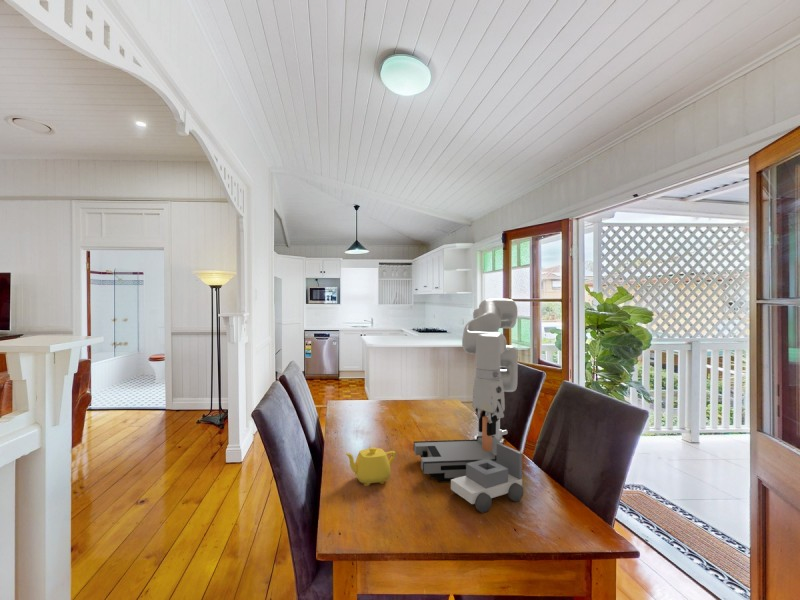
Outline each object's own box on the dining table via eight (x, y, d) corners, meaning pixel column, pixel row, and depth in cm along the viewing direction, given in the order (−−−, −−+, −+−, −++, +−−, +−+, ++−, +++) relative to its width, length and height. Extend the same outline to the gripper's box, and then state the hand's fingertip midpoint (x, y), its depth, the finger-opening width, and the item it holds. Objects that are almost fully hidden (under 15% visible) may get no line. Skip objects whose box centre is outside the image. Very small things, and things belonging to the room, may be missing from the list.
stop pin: (487, 446, 120) (487, 415, 120) (494, 450, 117) (494, 417, 117) (480, 448, 118) (480, 416, 118) (486, 451, 115) (487, 419, 115)
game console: (413, 459, 145) (413, 438, 146) (493, 456, 150) (493, 435, 150) (423, 485, 125) (424, 459, 125) (515, 480, 129) (516, 456, 129)
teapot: (347, 492, 119) (348, 457, 119) (340, 477, 129) (341, 445, 129) (401, 483, 125) (401, 451, 125) (390, 469, 135) (390, 439, 135)
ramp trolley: (495, 481, 127) (496, 441, 128) (525, 498, 116) (526, 454, 116) (447, 495, 118) (448, 451, 118) (475, 515, 106) (476, 467, 106)
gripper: (516, 377, 112) (515, 439, 112) (479, 368, 126) (478, 423, 126) (497, 380, 109) (497, 444, 109) (461, 370, 123) (461, 427, 123)
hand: (487, 432), depth 118 cm, fingers closed on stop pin, 3 cm apart
